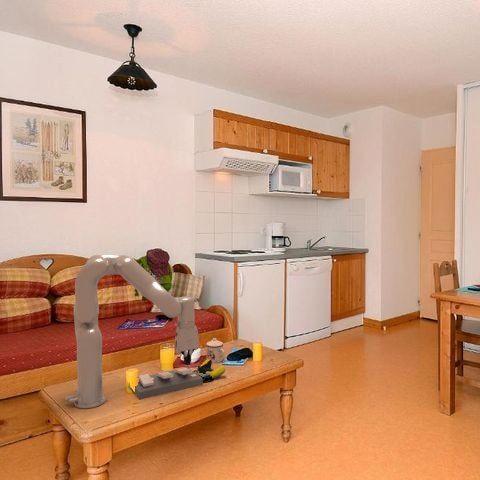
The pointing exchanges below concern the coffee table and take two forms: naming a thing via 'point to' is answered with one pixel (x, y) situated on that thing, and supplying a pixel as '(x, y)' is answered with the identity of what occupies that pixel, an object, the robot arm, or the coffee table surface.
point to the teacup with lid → (215, 351)
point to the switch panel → (168, 384)
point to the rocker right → (183, 370)
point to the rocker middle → (164, 374)
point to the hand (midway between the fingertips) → (187, 363)
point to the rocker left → (145, 378)
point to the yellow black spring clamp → (207, 370)
